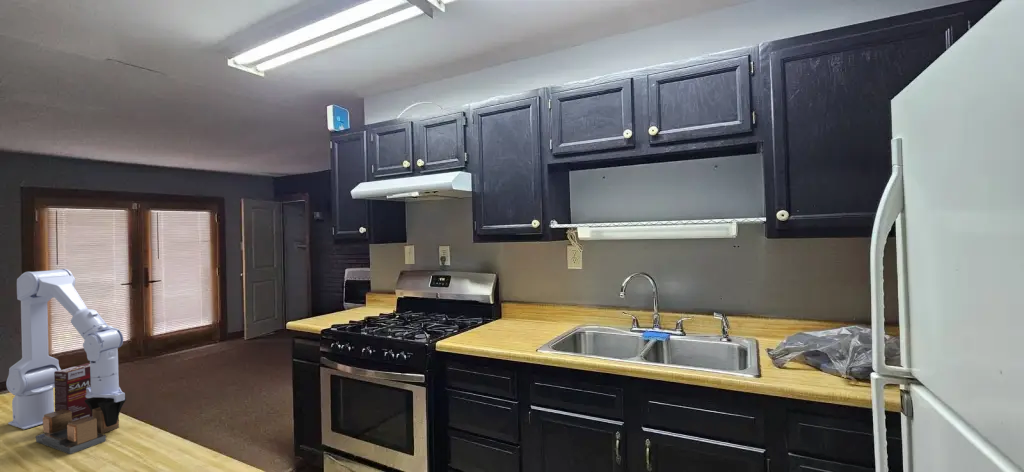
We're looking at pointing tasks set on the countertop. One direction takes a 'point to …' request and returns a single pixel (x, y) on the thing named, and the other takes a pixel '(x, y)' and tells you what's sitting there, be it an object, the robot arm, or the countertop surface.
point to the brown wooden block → (102, 421)
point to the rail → (69, 432)
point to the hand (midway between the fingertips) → (106, 423)
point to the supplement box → (73, 390)
